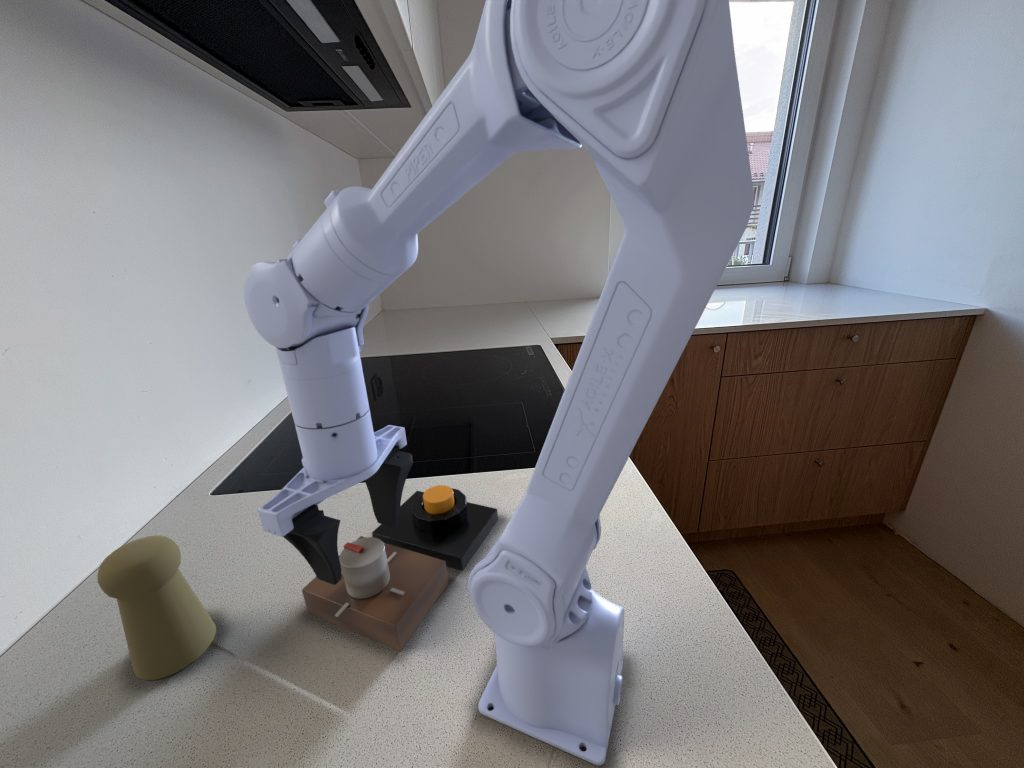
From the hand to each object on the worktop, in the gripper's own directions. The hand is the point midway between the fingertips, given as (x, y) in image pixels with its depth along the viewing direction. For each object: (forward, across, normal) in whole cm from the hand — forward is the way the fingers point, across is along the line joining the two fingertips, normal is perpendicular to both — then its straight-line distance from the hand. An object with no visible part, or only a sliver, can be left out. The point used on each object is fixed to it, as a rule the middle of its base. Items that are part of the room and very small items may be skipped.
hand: (361, 548), depth 39 cm
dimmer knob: (+4, 0, 0) cm, 4 cm away
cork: (+7, +10, -14) cm, 19 cm away
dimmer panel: (+7, -1, 0) cm, 7 cm away
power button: (+4, -13, 0) cm, 13 cm away
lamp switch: (+7, -12, 0) cm, 13 cm away
